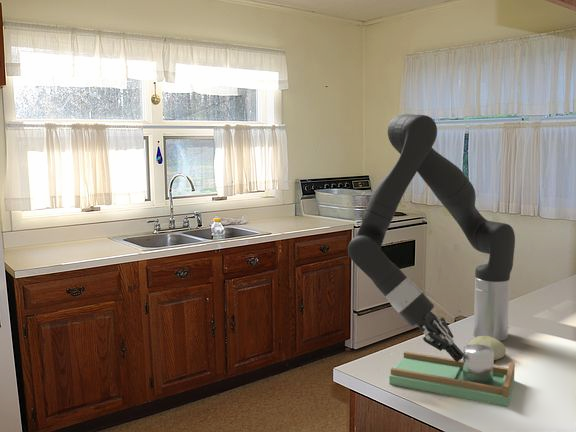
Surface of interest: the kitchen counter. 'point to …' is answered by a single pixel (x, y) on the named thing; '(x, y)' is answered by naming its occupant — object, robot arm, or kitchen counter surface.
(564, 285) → the kitchen counter surface
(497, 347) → the sea urchin shell
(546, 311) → the kitchen counter surface
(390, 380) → the green railed board
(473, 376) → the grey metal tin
